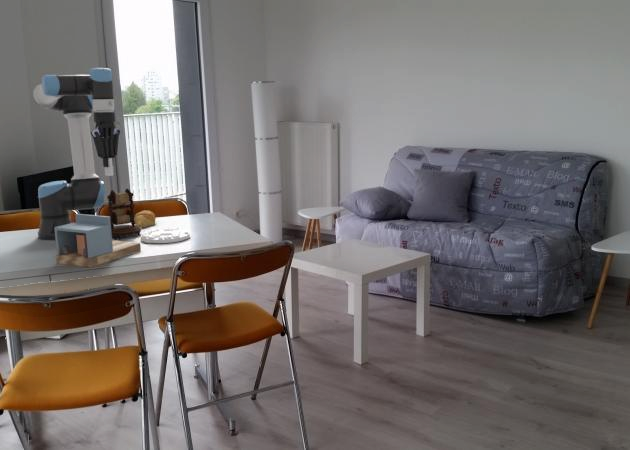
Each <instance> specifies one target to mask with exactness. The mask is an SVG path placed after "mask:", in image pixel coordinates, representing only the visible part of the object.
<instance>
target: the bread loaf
mask: <svg viewBox="0 0 630 450" xmlns="http://www.w3.org/2000/svg"><path fill="white" fill-rule="evenodd" d="M134 215H135V217H134V221H135V226H138V227H140V228H141V229H143V228H147V227H152V226H154V225H155V223H156V219H157V218H156V215H155V213H154V212H153V211H151V210H148V209H147V210H145V209H144V210H141V211H139V212H137V213H136V214H134Z"/></svg>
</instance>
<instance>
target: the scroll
mask: <svg viewBox="0 0 630 450" xmlns="http://www.w3.org/2000/svg"><path fill="white" fill-rule="evenodd" d="M133 198H134V193H133V192H131V191H130V189H129V188H126V189H125V190H124V192H118V193H116V192H115V190H110V192H109V194H108V195H107V201H108V206H107V210H108V212H109V214H108V215H109V217H110V222H111V234H112V237H115V238H116V239H117V240H119V238H120V237H123V236H125V237H126V236H130V235H131V236H132V235H137V236H141V232H142V228H140V227H138V226H136V225H135V221H134V217H135V215H136V214H135V210H134V209H135V203H134V199H133ZM126 209H127V210H126Z"/></svg>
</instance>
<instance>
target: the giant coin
mask: <svg viewBox="0 0 630 450" xmlns="http://www.w3.org/2000/svg"><path fill="white" fill-rule="evenodd" d="M189 238H190V231H188V230H185V229H179V228H178V227H172V228H171V227H164V228H163V229H159V228H155V229H149V230H147V231H143V232H142V233H140V241H142V242H145V243H146V244H169V243H177V242H182V241H185V240H187V239H189Z"/></svg>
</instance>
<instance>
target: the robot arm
mask: <svg viewBox="0 0 630 450" xmlns="http://www.w3.org/2000/svg"><path fill="white" fill-rule="evenodd" d="M113 79H114V77H113V74H112V69H110V68H107V67H96V68H95V67H94V68H93V67H92V68H90V70H89V74H44V75H43V76H42V77H41V83H40V84H38V85H36V86H35V88H34V89H33V90H32V94H31V96H32V99H33V102H34V103H35V105H37V106H38V107H40V108H41V109H44V110H46V111H52V112H62V115H63V117H64V118H65V119H67V125H68V133H69V141H70V150H71V158H72V166H73V175H72V177H71V178H70V183H68V182H67V180H56V181H55V180H54V181H50V182H46V183H43V184H40V185H39V186H38V189H37V191H38V192H37V194H38V196H37V198H38V203H39V213H40V222H39V228H38V231H37V237H38V239H39V240H43V241H44V240H45V241H47V240H48V241H49V240H50V241H51V240H52V241H53V240H55V241H56V239H55V229H54V227H58V226H62V225H66V224H70V223H73V221H72V219H71V211H80V210H81V211H82V210H93V209H96V208H101V207H102V206H103V204H104V203H105V197H106V186H105V182H104V181H102V180H100V176H99V175H97V174H96V169H95V161H94V153H93V152H94V151H93V145H92V139H93V142H94V146H95V150H96V153H97V157H98V158H100V159H102V165H103V167H104V176H107V177H108V176H109V177H112V176H113V177H114V158H116V156H118V149H119V136H120V134H121V129H117V128H116V126H115V122H116V112H114V111H115V100H114V98H115V97H114V85H113ZM93 111H94V112H93ZM92 112H93V113H92ZM92 115H93V122H94V123H95V129H94V131H91V125H90V118H91V116H92Z"/></svg>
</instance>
